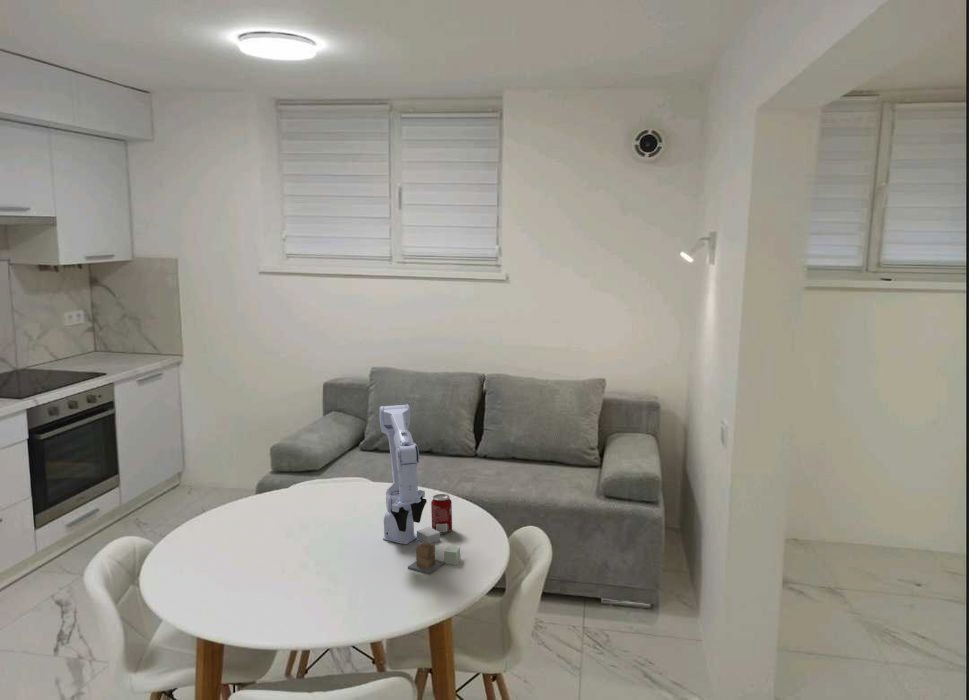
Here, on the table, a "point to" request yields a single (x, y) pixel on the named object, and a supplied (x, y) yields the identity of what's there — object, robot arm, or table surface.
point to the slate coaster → (425, 570)
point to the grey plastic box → (428, 535)
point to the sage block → (452, 555)
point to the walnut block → (425, 555)
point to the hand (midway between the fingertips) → (409, 526)
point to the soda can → (441, 513)
